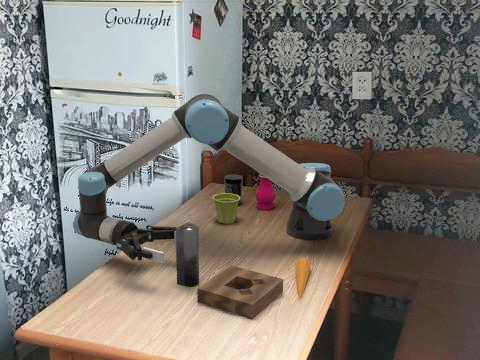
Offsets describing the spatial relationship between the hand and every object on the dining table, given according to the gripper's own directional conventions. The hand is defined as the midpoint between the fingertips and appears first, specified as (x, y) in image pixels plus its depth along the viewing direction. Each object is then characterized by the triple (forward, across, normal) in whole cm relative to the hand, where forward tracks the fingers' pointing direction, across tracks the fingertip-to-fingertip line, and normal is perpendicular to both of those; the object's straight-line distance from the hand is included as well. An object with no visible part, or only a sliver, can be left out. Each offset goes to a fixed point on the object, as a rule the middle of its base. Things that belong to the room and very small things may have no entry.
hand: (179, 248), depth 160 cm
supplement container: (-22, -62, -10) cm, 67 cm away
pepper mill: (-10, -65, -10) cm, 66 cm away
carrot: (+28, -16, -10) cm, 34 cm away
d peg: (+3, 0, -9) cm, 10 cm away
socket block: (+19, -1, -9) cm, 21 cm away
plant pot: (-14, -45, -10) cm, 48 cm away
